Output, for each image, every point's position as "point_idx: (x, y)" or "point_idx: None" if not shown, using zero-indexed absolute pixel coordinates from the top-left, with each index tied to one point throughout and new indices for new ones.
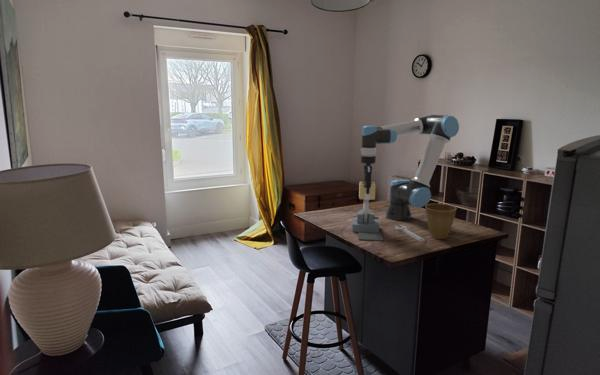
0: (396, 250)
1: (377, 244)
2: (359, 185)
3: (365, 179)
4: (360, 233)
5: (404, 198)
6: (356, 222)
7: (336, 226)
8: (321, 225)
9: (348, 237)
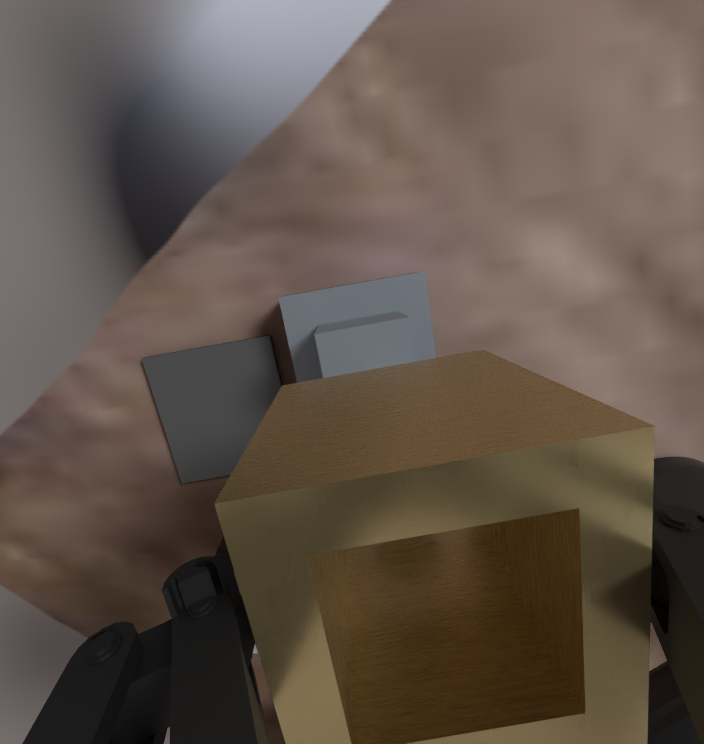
0: (75, 543)
1: (119, 456)
2: (494, 412)
3: (697, 634)
4: (246, 352)
5: (653, 710)
6: (339, 317)
7: (367, 168)
8: (358, 41)
9: (166, 288)
